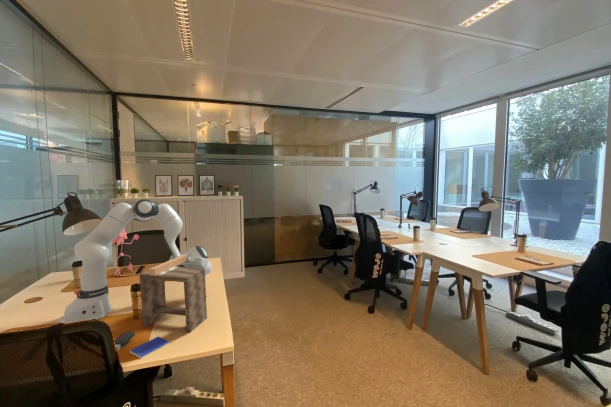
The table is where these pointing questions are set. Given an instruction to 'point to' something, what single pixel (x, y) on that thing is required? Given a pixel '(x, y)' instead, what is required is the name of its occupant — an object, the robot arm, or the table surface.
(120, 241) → the pink wire sculpture
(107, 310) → the robot arm
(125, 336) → the usb drive
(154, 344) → the hard drive
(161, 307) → the stand
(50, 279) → the table surface
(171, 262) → the handle bar
